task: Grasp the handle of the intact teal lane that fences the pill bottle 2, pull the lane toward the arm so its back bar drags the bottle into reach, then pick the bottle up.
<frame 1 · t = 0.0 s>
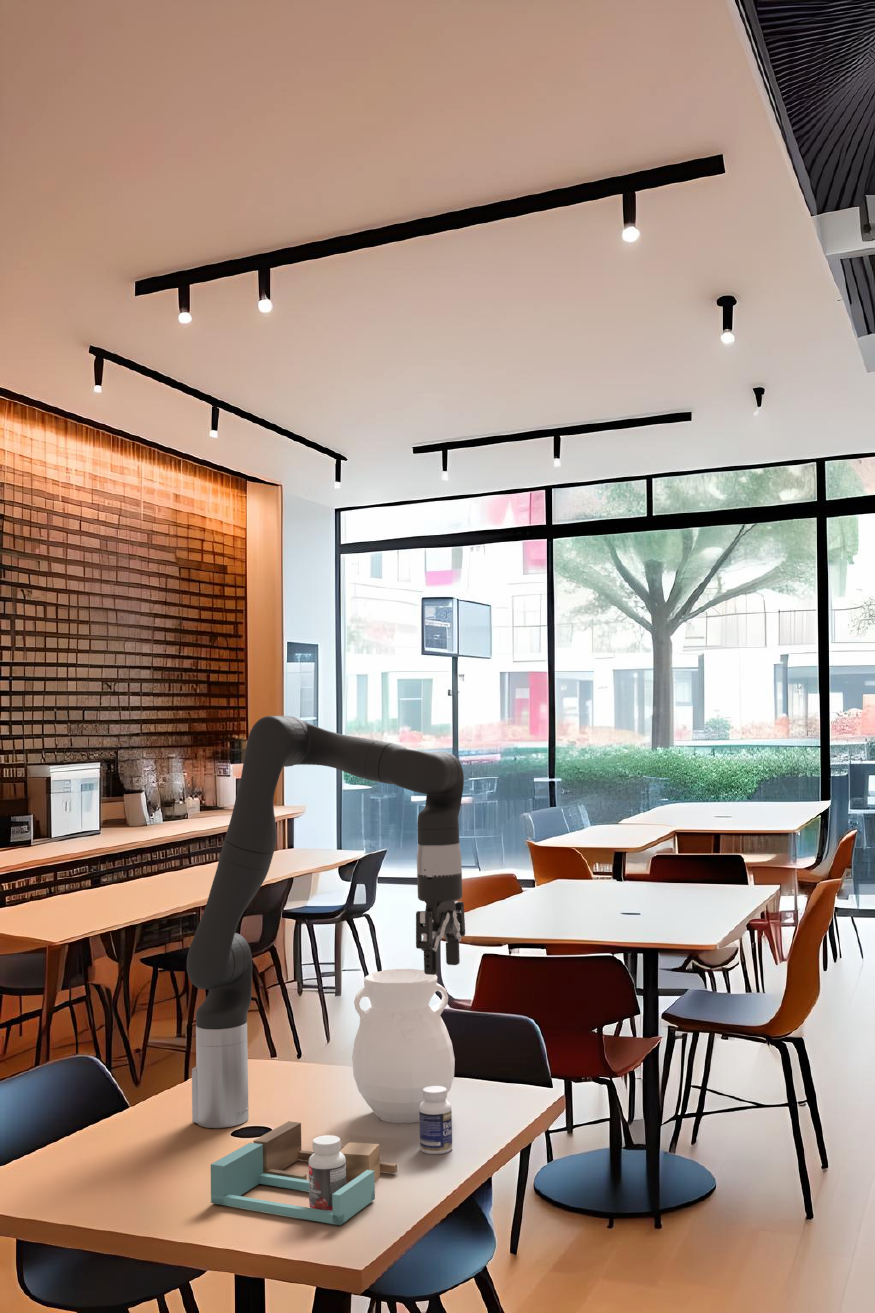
hand: (442, 969, 190), 29 cm above the table, fingers open, 8 cm apart
white vase: (405, 1117, 206), on the table
walnut lane broken: (325, 1156, 178), point 3 cm above the table, slide at 0.0 cm
pill bottle 2: (328, 1210, 164), resting in teal lane
pill bottle: (436, 1151, 188), on the table
teal lane: (292, 1181, 167), point 3 cm above the table, slide at 0.0 cm
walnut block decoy: (359, 1182, 175), on the table
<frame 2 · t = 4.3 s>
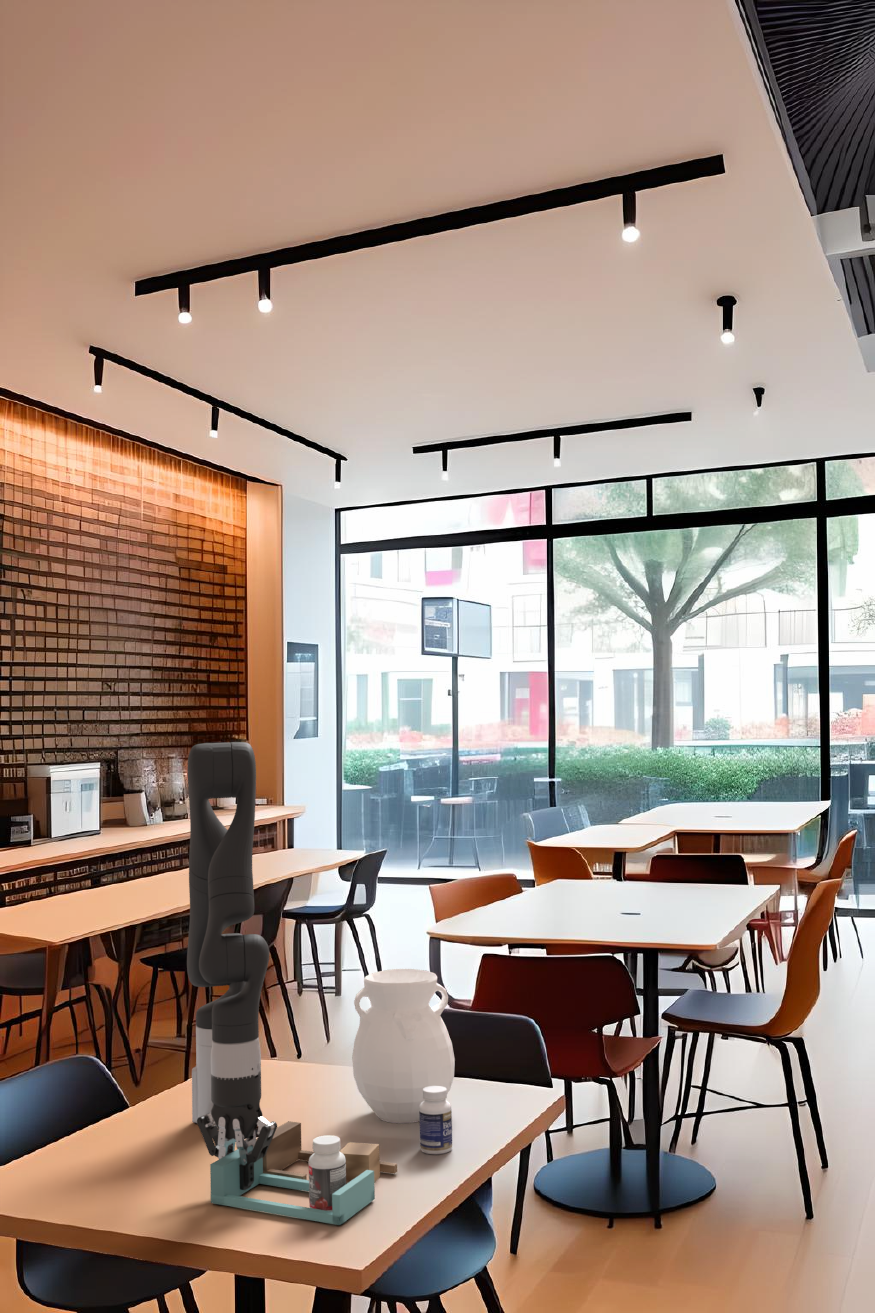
hand: (237, 1186, 171), 1 cm above the table, fingers closed on teal lane, 2 cm apart
teal lane: (292, 1181, 167), point 3 cm above the table, slide at 0.0 cm, touching gripper
everything else where it was.
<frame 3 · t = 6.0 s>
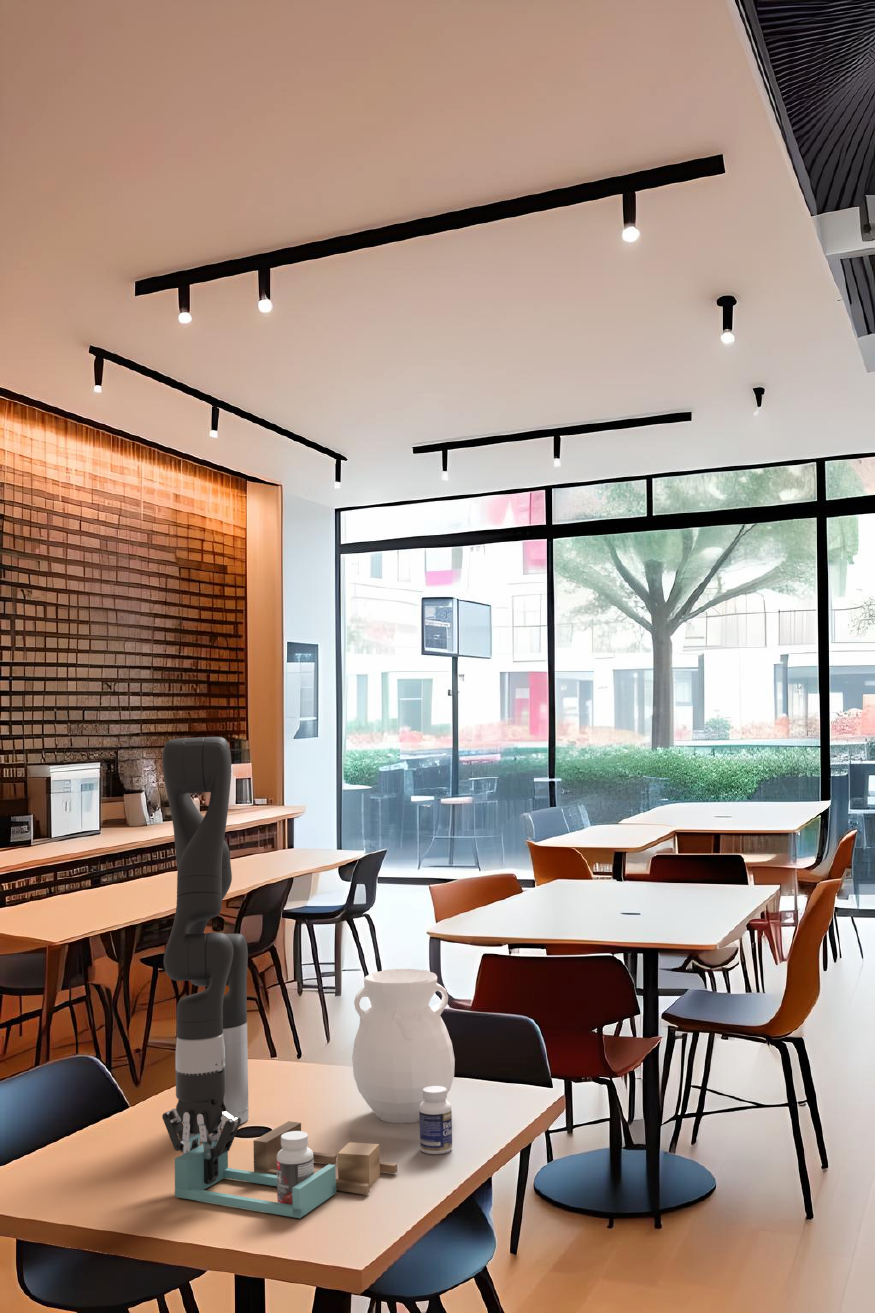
hand: (202, 1180, 174), 1 cm above the table, fingers closed on teal lane, 2 cm apart
pill bottle 2: (295, 1205, 167), resting in teal lane
teal lane: (255, 1176, 170), point 3 cm above the table, slide at 6.6 cm, touching gripper
everything else where it was.
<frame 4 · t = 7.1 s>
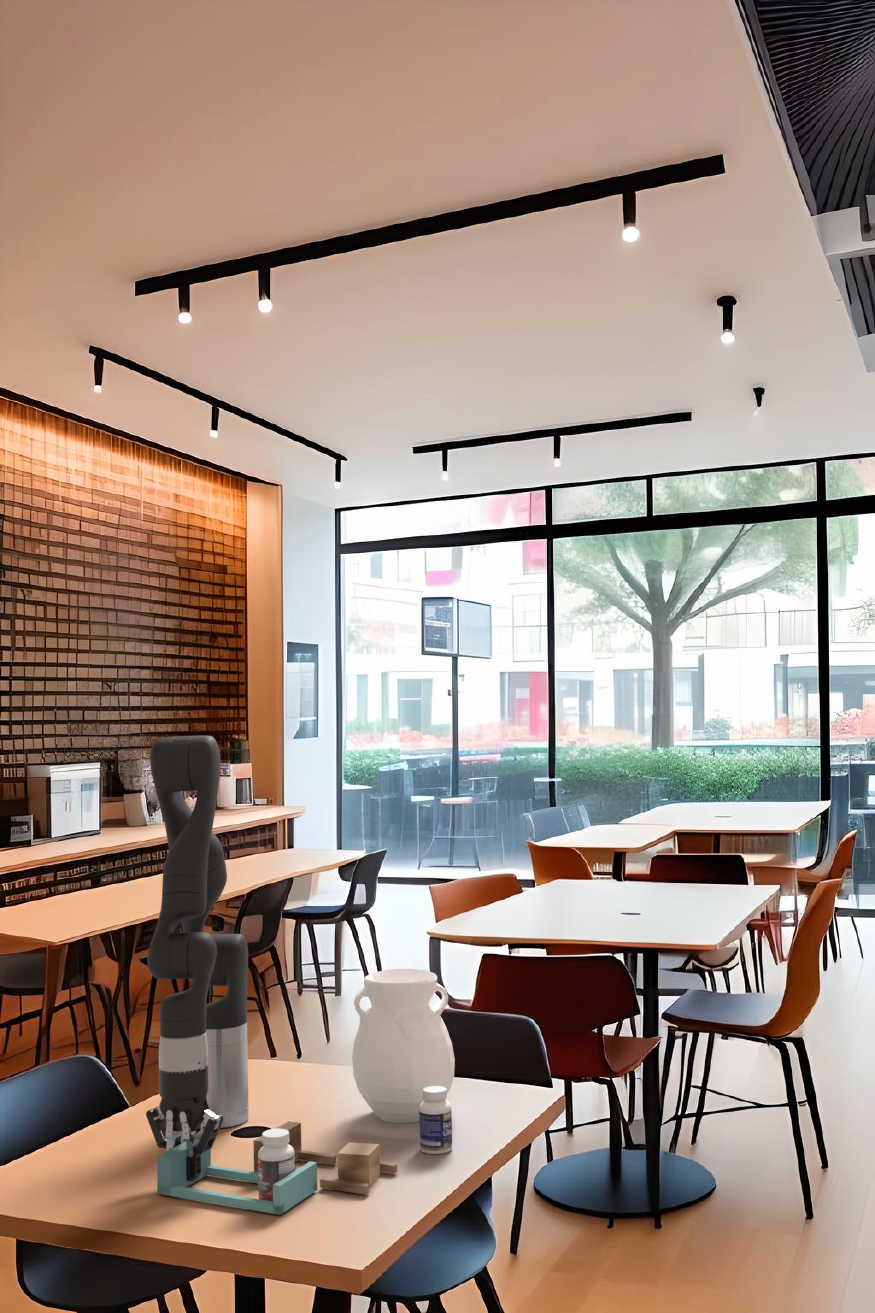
hand: (184, 1178, 175), 1 cm above the table, fingers closed on teal lane, 2 cm apart
pill bottle 2: (276, 1202, 168), resting in teal lane
teal lane: (237, 1173, 171), point 3 cm above the table, slide at 9.9 cm, touching gripper, pill bottle 2
everything else where it was.
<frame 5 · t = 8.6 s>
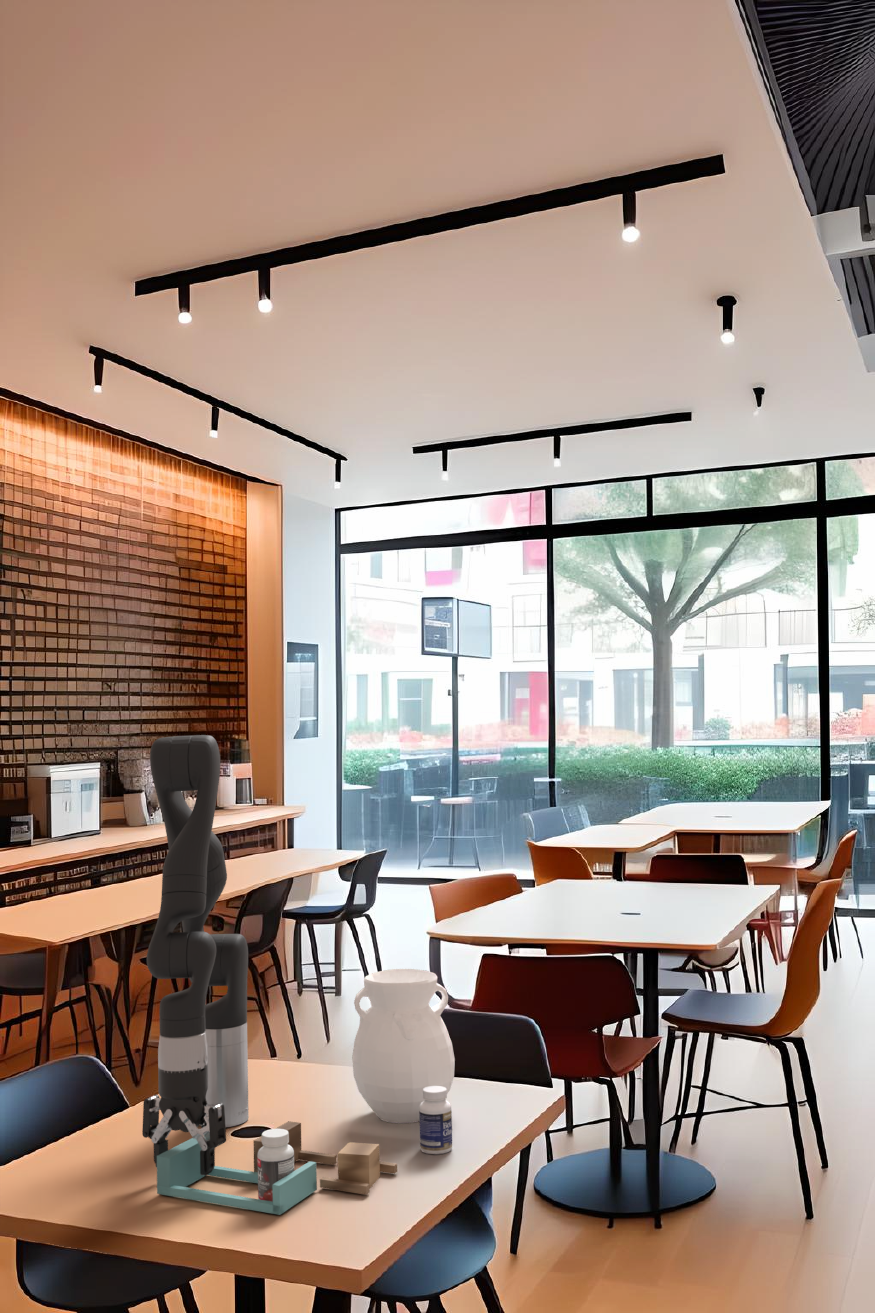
hand: (184, 1170, 176), 2 cm above the table, fingers open, 8 cm apart
pill bottle 2: (276, 1202, 168), resting in teal lane
teal lane: (236, 1173, 171), point 3 cm above the table, slide at 10.0 cm
everything else where it was.
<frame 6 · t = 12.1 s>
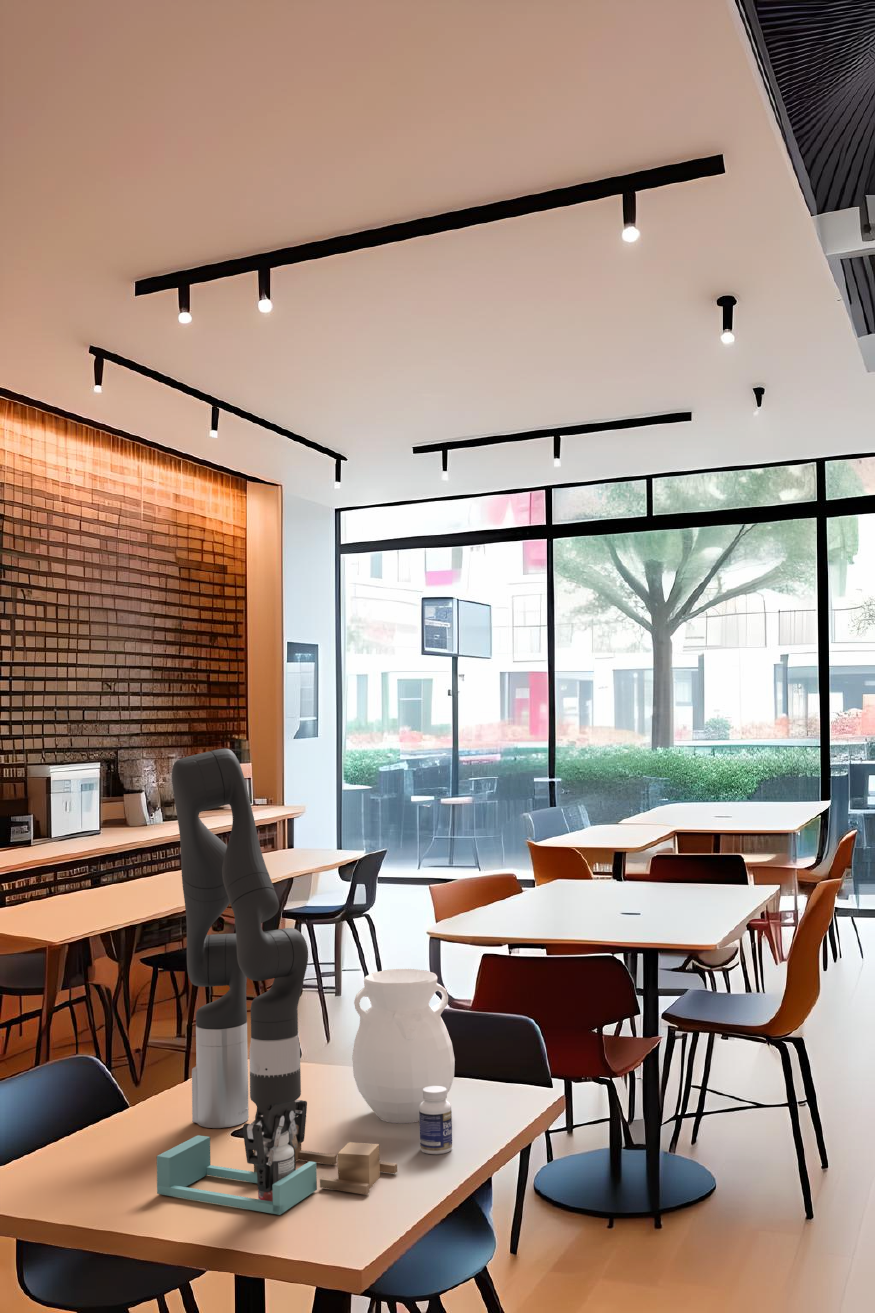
hand: (277, 1183, 168), 3 cm above the table, fingers closed on pill bottle 2, 5 cm apart
pill bottle 2: (276, 1202, 168), resting in teal lane, touching gripper
everything else where it was.
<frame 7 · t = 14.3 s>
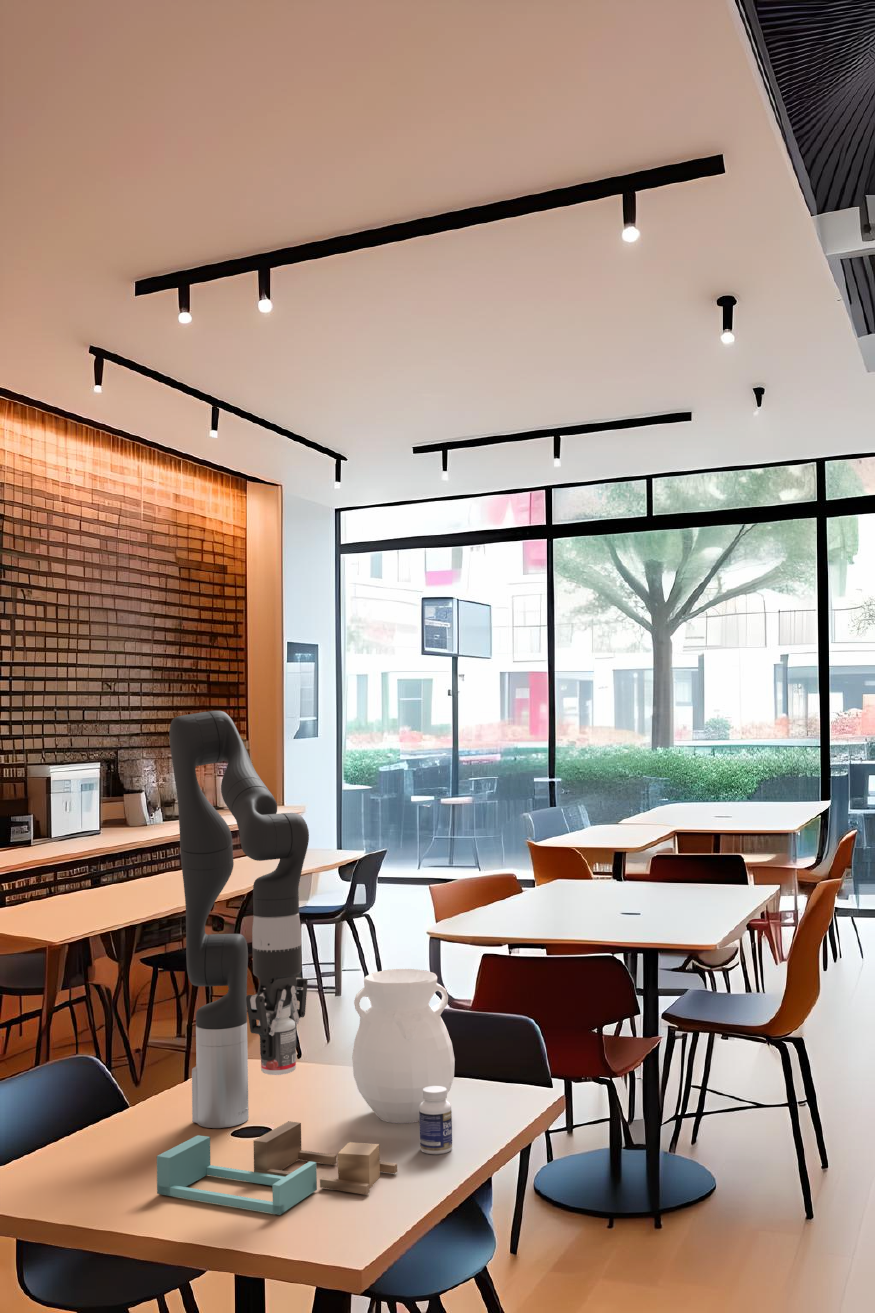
hand: (279, 1053, 175), 20 cm above the table, fingers closed on pill bottle 2, 5 cm apart
pill bottle 2: (278, 1072, 175), point 17 cm above the table, touching gripper
everything else where it was.
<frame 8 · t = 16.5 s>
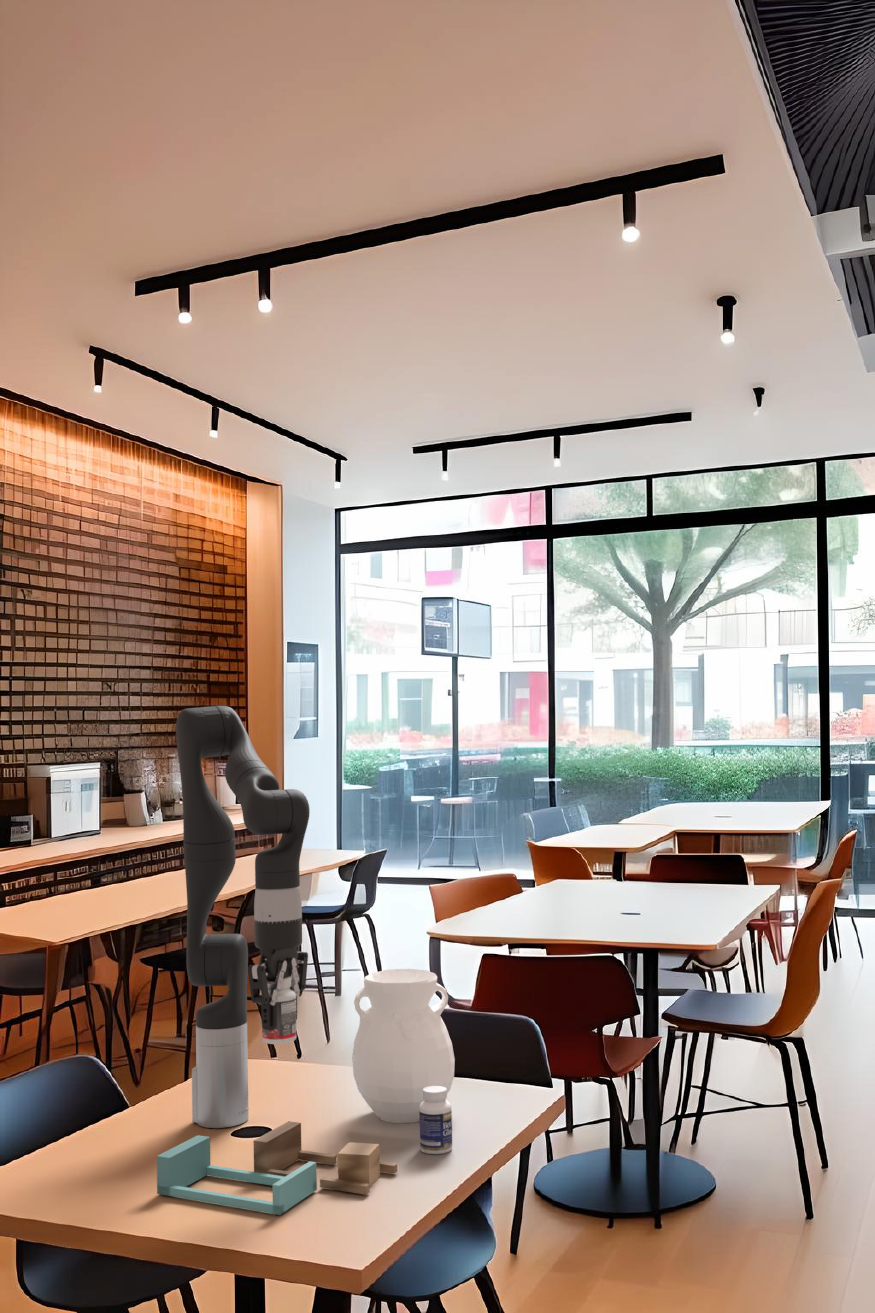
hand: (279, 1024, 179), 23 cm above the table, fingers closed on pill bottle 2, 5 cm apart
pill bottle 2: (279, 1042, 179), point 21 cm above the table, touching gripper
everything else where it was.
at the end: teal lane slide at 10.0 cm; pill bottle 2 point 20.6 cm above the table; the gripper is holding pill bottle 2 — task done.
